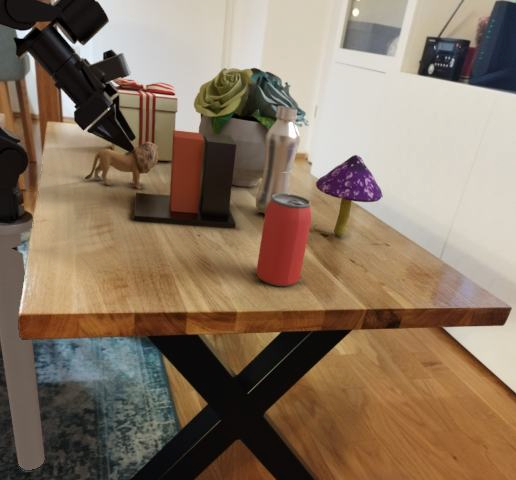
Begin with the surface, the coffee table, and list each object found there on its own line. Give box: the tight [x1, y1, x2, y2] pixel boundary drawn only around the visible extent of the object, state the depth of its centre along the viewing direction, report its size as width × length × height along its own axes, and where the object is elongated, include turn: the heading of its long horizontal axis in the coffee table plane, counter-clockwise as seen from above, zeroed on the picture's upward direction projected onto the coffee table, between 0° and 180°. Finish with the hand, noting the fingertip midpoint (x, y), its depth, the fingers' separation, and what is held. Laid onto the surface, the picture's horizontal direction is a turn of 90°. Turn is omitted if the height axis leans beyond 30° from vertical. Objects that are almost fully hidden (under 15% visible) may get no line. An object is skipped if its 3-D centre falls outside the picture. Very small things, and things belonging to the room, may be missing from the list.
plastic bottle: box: [255, 106, 301, 215], centre depth 98 cm, size 6×7×20 cm
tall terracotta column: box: [169, 129, 204, 213], centre depth 93 cm, size 5×6×13 cm
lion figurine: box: [84, 142, 158, 190], centre depth 104 cm, size 15×5×9 cm, turn 103°
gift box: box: [110, 77, 179, 162], centre depth 129 cm, size 17×18×17 cm
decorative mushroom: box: [315, 154, 384, 237], centre depth 94 cm, size 12×12×15 cm
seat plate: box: [133, 133, 237, 229], centre depth 93 cm, size 18×14×14 cm
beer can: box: [255, 193, 312, 287], centre depth 73 cm, size 7×7×12 cm
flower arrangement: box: [193, 67, 310, 188], centre depth 115 cm, size 25×25×24 cm
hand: (133, 144), depth 90 cm, fingers open, 9 cm apart
